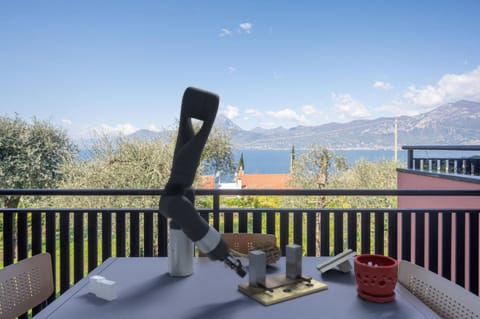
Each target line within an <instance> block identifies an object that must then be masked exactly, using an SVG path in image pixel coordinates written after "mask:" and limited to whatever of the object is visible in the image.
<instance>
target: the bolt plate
mask: <svg viewBox="0 0 480 319" xmlns="http://www.w3.org/2000/svg"><path fill="white" fill-rule="evenodd" d="M328 286H329V285H328V284H326V283H323V282H320V281H319V280H316V279H313V278H312V280H311V283H308V282H306V281H304V282H300V283H296V284H292V285H288V286H284V287H280V288H276V289H273V290H274V292H273V293H271V292H269V291H265V292H261V293H257V294H253V297H252V299H254V300H256V301H258V302H259V303H261V304H262V305H264V306H266V307H267V306H270V305H273V304H277V303H280V302H281V303H282V302H284V301H288V300H292V299H294V298H298V297H301V296H305V295H309V294H312V293H316V292H320V291H323V290H327V289H329V287H328Z"/></svg>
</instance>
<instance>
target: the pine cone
mask: <svg viewBox="0 0 480 319" xmlns="http://www.w3.org/2000/svg"><path fill="white" fill-rule="evenodd" d="M256 250H260V251H262V252H265V253H266V266H269V265H270V264H276V263H277V262H279V261H280V259H281V258H282V250H281V247H279V245H276V244H275V243H273V242H272V241H265V240H264V241H262V242H259V244H258V243H256V244H254V245H253V246H251V247H250V250H249V252H250V251H256ZM229 251H230V252H231V253H232V254H233V255H235V256H237V257H241V258H244V259H248V260H249V253H248V254H245V253H240V252H237V251H236V250H234V249H232V248H229Z"/></svg>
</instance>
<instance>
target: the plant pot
mask: <svg viewBox="0 0 480 319" xmlns="http://www.w3.org/2000/svg"><path fill="white" fill-rule="evenodd" d="M369 263H371V264H369ZM381 264H382V265H381ZM353 271H354V280H355V283H356V284H357V287H356V289H355V291H356V293H357V294H358V296H359V297H361V298H362V299H364V300H366V301H369V302H374V303H387V302H388V303H389V302H391V301H393V300H394V299H395V298H396V291H395V289H396V286H397V284H398V280H399V276H398V275H399V274H398V273H399V261H398V260H396V259H394V258H393V257H389V256H386V255H382V254H371V253H369V254H368V253H366V254H365V253H364V254H360V255H359V254H358V255H357V256H356V255H355V256H354V257H353Z"/></svg>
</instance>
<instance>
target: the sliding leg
mask: <svg viewBox="0 0 480 319" xmlns="http://www.w3.org/2000/svg"><path fill="white" fill-rule="evenodd" d="M248 254H249V259H248V282H249V285H251V286H253V287H254V288H259V287H262V288H264V289H266V290H267V291H269V292H271V293H273V292H274V290H273V289H271V288H269V287H267V286H266V278H267V277H266V275H267V272H266V271H267V270H266V269H267V268H266V267H267V265H266V253H265V252H262V251H260V250H256V251H250V250H249V251H248Z"/></svg>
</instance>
